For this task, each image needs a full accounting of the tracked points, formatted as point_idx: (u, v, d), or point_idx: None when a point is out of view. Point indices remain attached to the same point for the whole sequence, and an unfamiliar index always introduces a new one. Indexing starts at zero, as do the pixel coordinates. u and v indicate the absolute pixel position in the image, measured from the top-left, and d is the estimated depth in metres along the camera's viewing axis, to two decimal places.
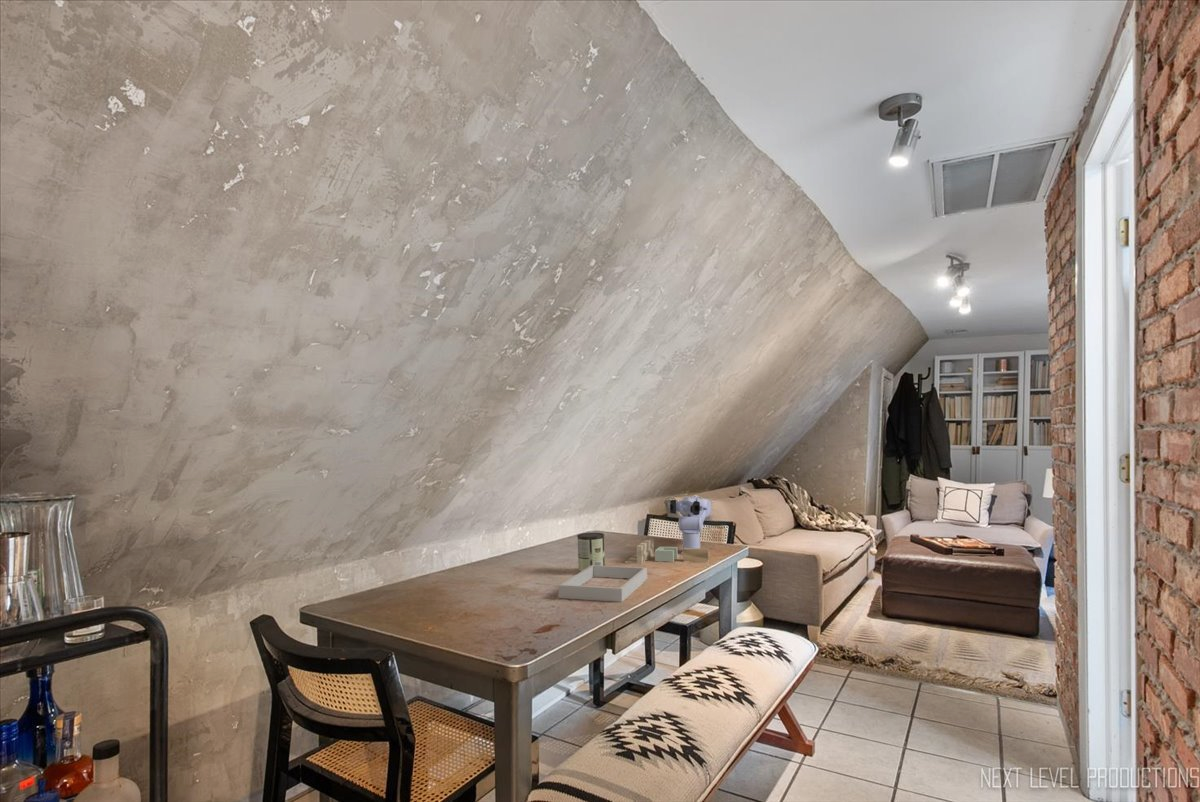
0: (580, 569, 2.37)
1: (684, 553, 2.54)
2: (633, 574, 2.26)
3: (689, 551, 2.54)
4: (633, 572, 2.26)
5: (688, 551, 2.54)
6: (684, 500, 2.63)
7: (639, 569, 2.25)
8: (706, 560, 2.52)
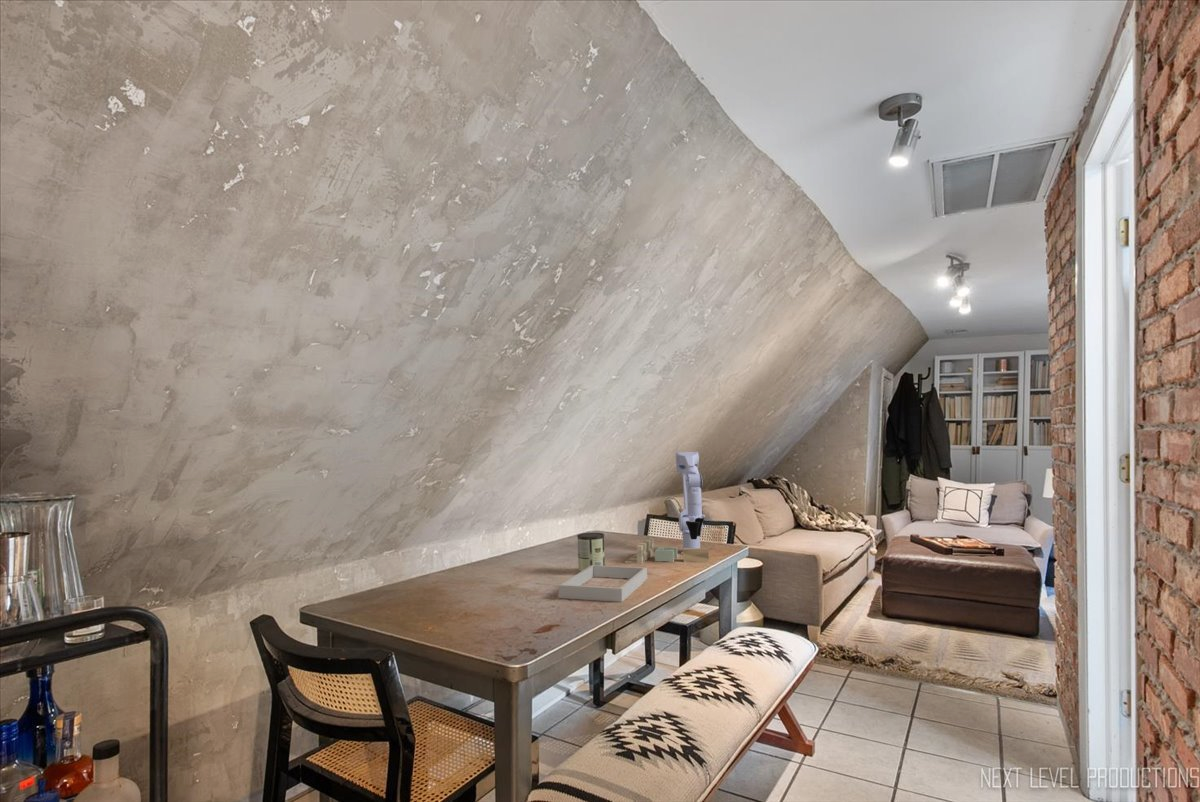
0: (580, 569, 2.37)
1: (684, 553, 2.54)
2: (633, 574, 2.26)
3: (690, 551, 2.53)
4: (633, 572, 2.26)
5: (688, 551, 2.53)
6: (701, 516, 2.54)
7: (639, 569, 2.25)
8: (707, 560, 2.52)
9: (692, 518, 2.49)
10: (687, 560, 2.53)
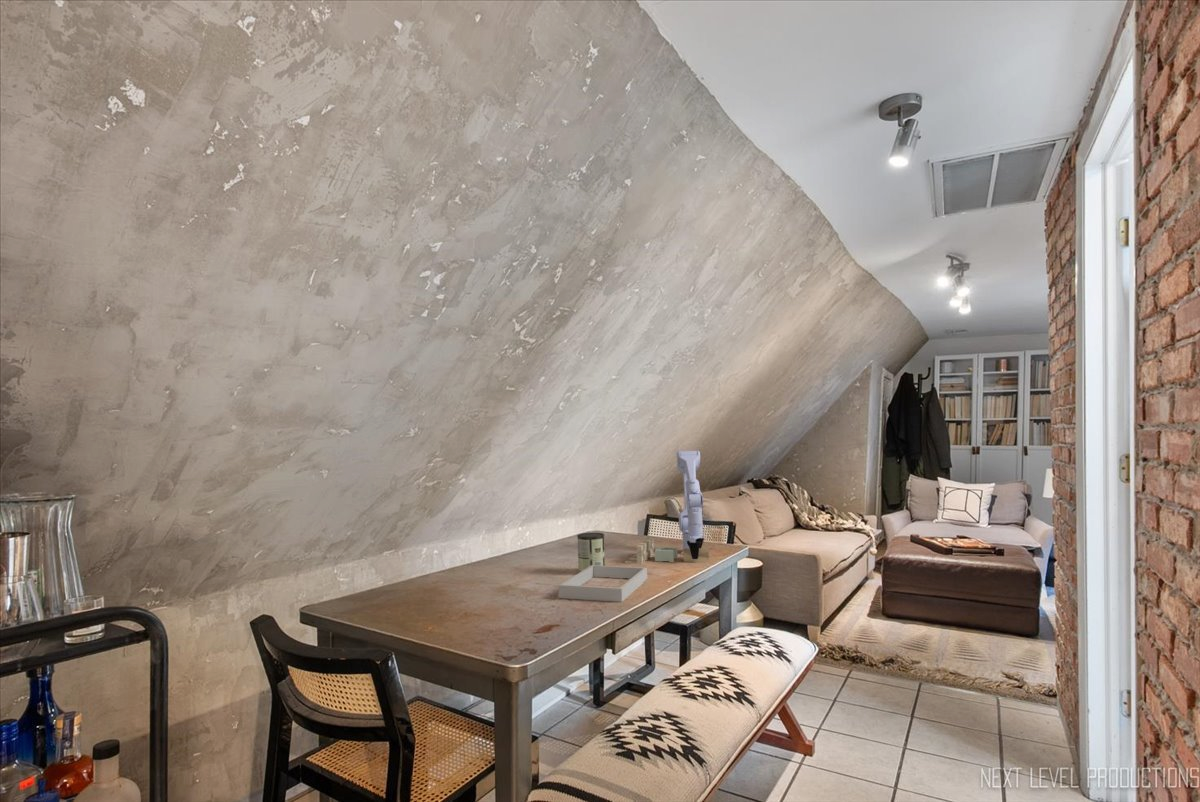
0: (580, 569, 2.37)
1: (685, 553, 2.53)
2: (633, 574, 2.26)
3: (690, 551, 2.53)
4: (633, 572, 2.26)
5: (689, 551, 2.53)
6: (701, 536, 2.54)
7: (639, 569, 2.25)
8: (707, 559, 2.52)
9: (693, 539, 2.48)
10: (687, 560, 2.53)
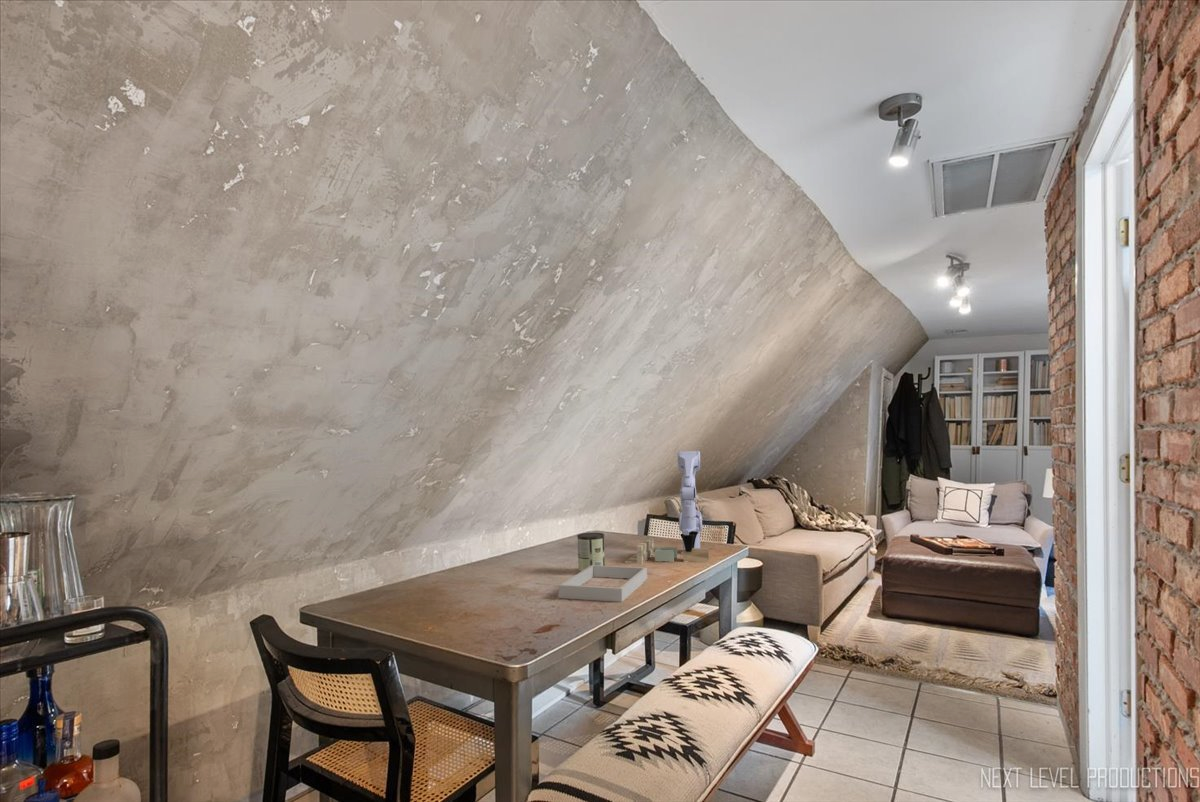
0: (580, 569, 2.37)
1: (684, 553, 2.54)
2: (633, 574, 2.26)
3: None
4: (633, 572, 2.26)
5: None
6: (695, 529, 2.55)
7: (639, 569, 2.25)
8: (707, 560, 2.52)
9: (686, 531, 2.49)
10: (687, 560, 2.53)
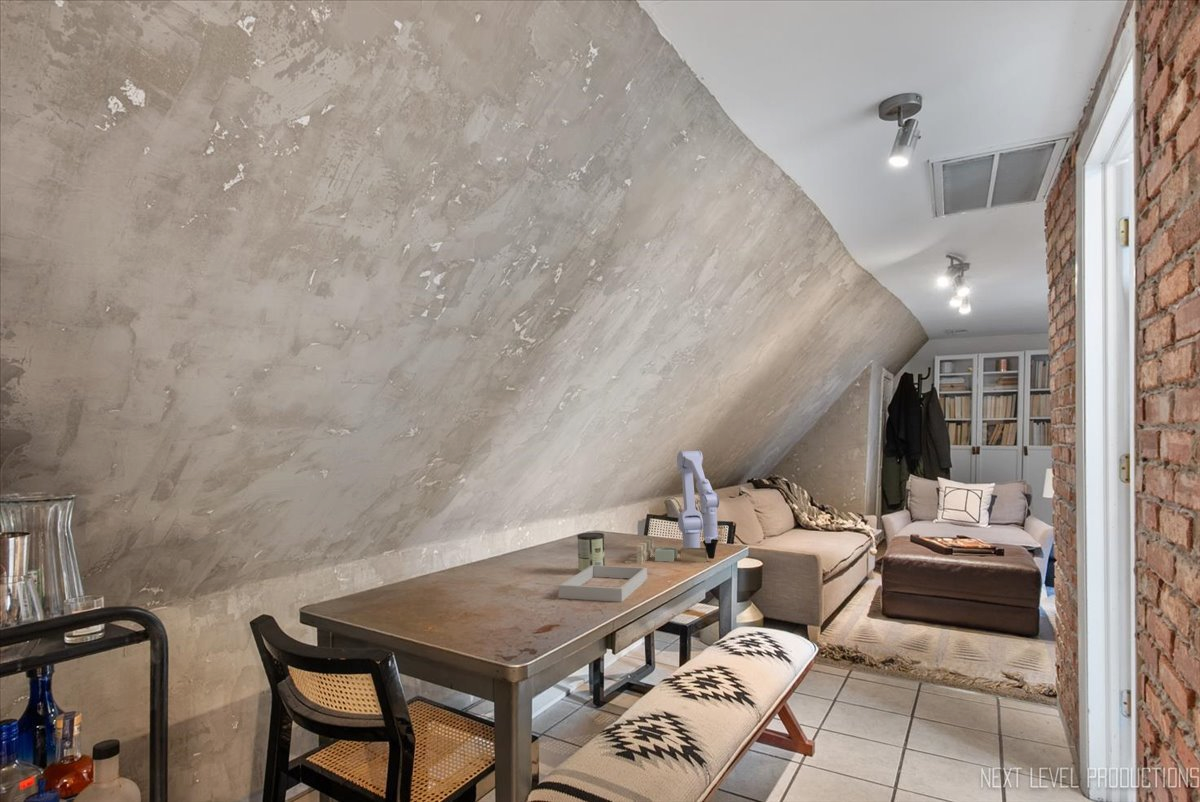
0: (580, 569, 2.37)
1: (682, 552, 2.55)
2: (633, 574, 2.26)
3: (687, 550, 2.54)
4: (633, 572, 2.26)
5: (686, 550, 2.54)
6: None
7: (639, 569, 2.25)
8: (704, 559, 2.52)
9: (708, 539, 2.46)
10: (684, 559, 2.54)
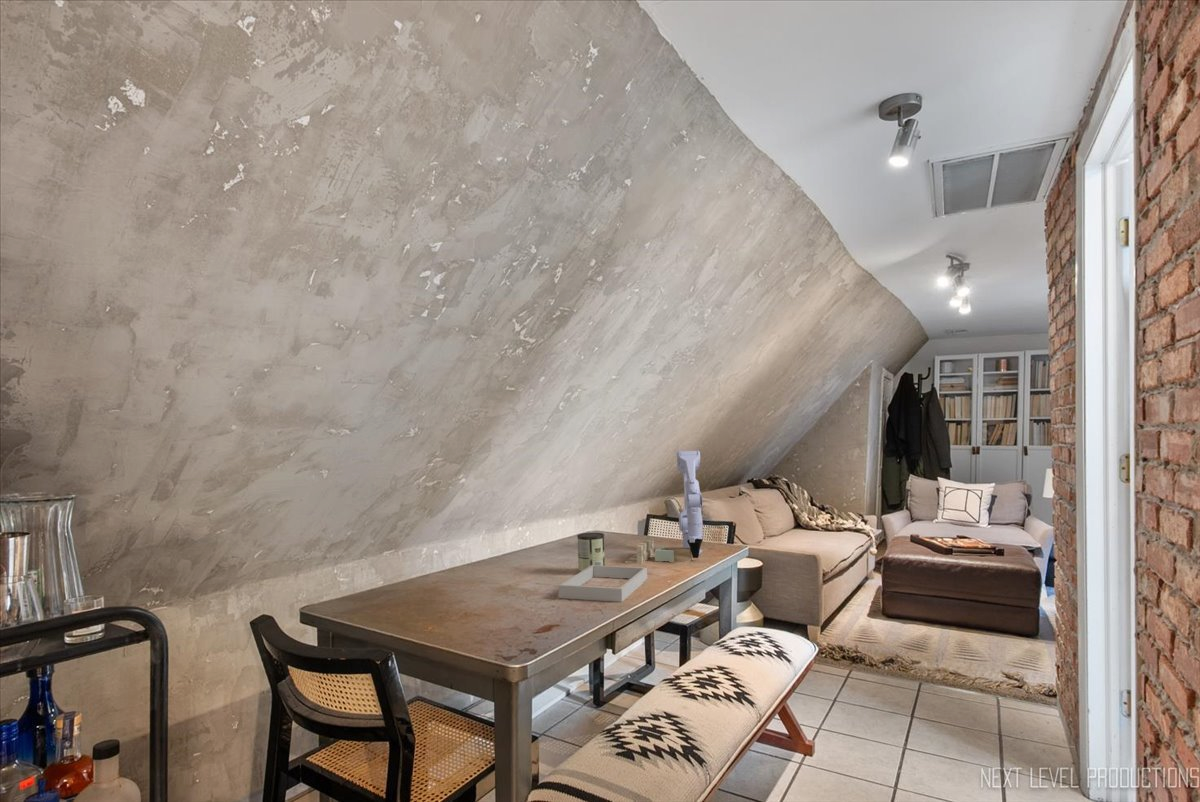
0: (580, 569, 2.37)
1: None
2: (633, 574, 2.26)
3: None
4: (633, 572, 2.26)
5: None
6: None
7: (639, 569, 2.25)
8: (688, 559, 2.54)
9: (692, 539, 2.48)
10: None
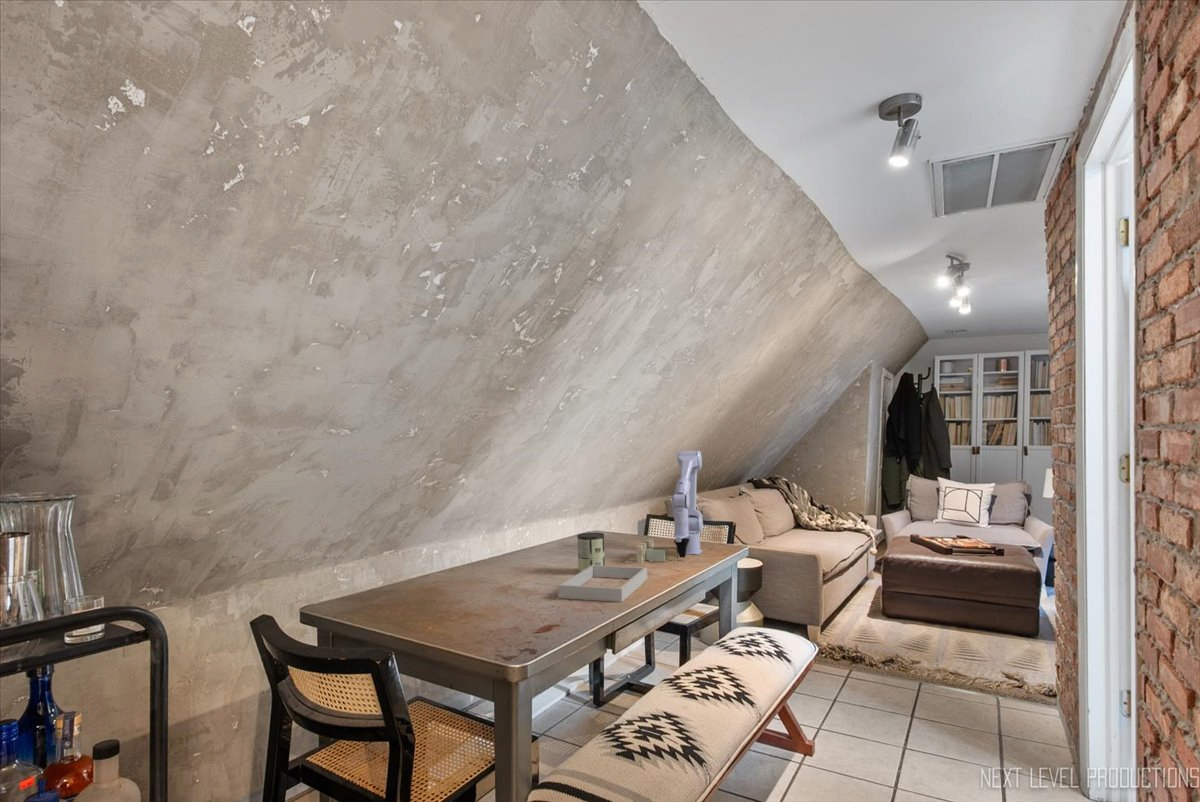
0: (580, 569, 2.37)
1: None
2: (633, 574, 2.26)
3: (658, 549, 2.58)
4: (633, 572, 2.26)
5: (657, 549, 2.58)
6: (688, 536, 2.56)
7: (639, 569, 2.25)
8: (675, 558, 2.56)
9: (678, 538, 2.50)
10: None
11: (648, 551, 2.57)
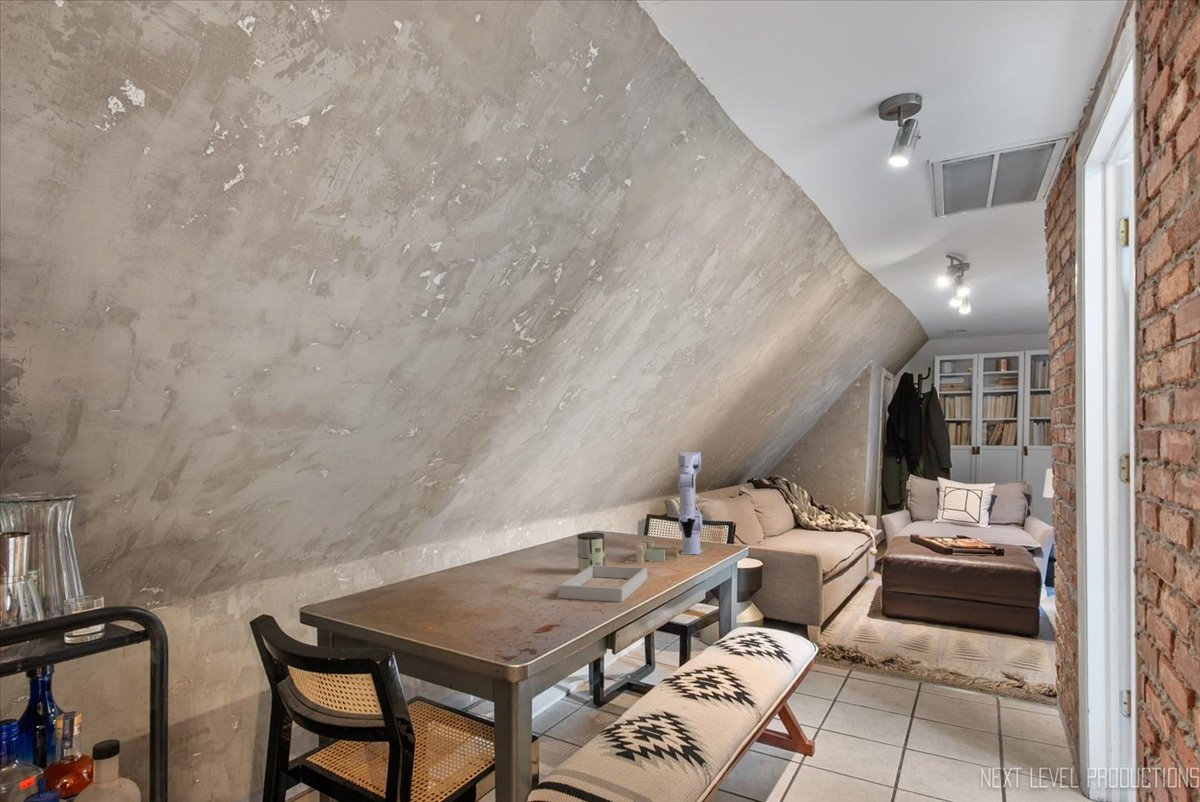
0: (580, 569, 2.37)
1: None
2: (633, 574, 2.26)
3: None
4: (633, 572, 2.26)
5: None
6: (693, 516, 2.55)
7: (639, 569, 2.25)
8: (675, 559, 2.56)
9: (684, 518, 2.50)
10: None
11: (648, 551, 2.57)
